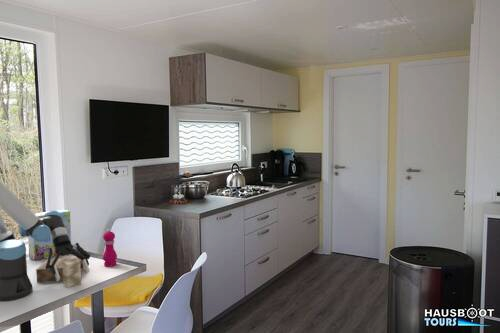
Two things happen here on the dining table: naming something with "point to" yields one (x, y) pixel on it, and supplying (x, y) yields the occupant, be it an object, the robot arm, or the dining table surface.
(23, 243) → the robot arm
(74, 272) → the birch block
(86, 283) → the dining table surface
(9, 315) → the dining table surface
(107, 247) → the pepper mill
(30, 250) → the snack box
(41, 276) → the brown wooden slab
